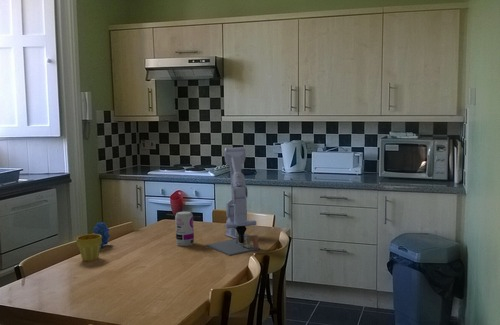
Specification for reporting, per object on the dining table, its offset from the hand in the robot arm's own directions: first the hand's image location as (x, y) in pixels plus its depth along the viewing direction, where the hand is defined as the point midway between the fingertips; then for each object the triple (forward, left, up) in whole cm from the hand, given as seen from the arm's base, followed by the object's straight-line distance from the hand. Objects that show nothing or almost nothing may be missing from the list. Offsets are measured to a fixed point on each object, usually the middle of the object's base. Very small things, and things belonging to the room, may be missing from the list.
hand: (241, 242), depth 234 cm
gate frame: (-3, -3, -2) cm, 5 cm away
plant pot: (-27, -60, -3) cm, 66 cm away
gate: (0, +1, -1) cm, 2 cm away
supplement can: (-22, -17, -3) cm, 28 cm away
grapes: (-43, -49, -3) cm, 66 cm away
